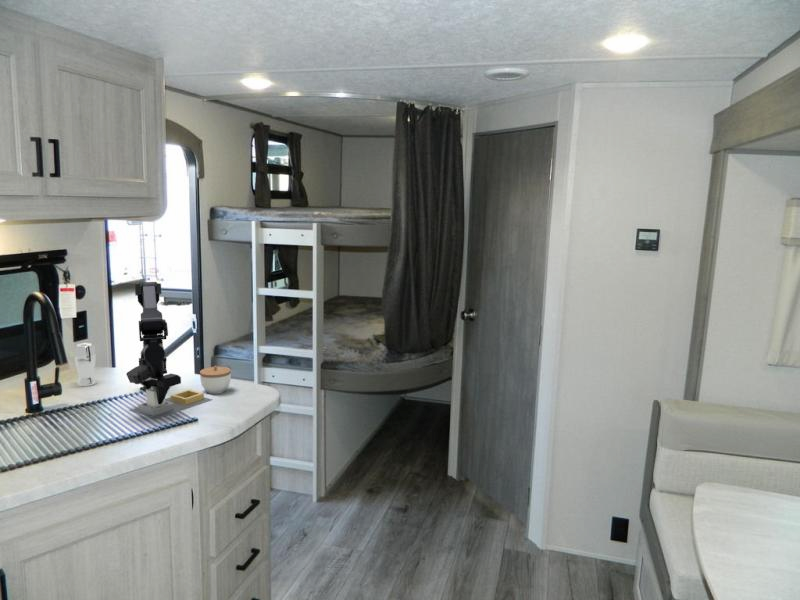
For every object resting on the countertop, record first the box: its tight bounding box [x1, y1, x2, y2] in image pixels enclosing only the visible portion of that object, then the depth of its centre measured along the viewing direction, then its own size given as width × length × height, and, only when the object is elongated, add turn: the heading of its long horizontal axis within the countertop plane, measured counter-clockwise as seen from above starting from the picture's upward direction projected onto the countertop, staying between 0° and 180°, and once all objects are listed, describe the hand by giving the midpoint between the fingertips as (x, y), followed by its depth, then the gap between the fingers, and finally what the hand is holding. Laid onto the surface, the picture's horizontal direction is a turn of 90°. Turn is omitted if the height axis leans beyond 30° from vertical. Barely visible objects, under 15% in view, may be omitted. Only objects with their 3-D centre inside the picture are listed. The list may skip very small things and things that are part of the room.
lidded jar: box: [199, 365, 232, 395], centre depth 205 cm, size 11×11×9 cm
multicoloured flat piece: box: [128, 389, 213, 420], centre depth 188 cm, size 14×22×3 cm, turn 149°
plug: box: [145, 386, 166, 408], centre depth 182 cm, size 4×4×8 cm
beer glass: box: [73, 342, 97, 387], centre depth 211 cm, size 7×7×15 cm
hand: (156, 402), depth 183 cm, fingers closed on plug, 4 cm apart
